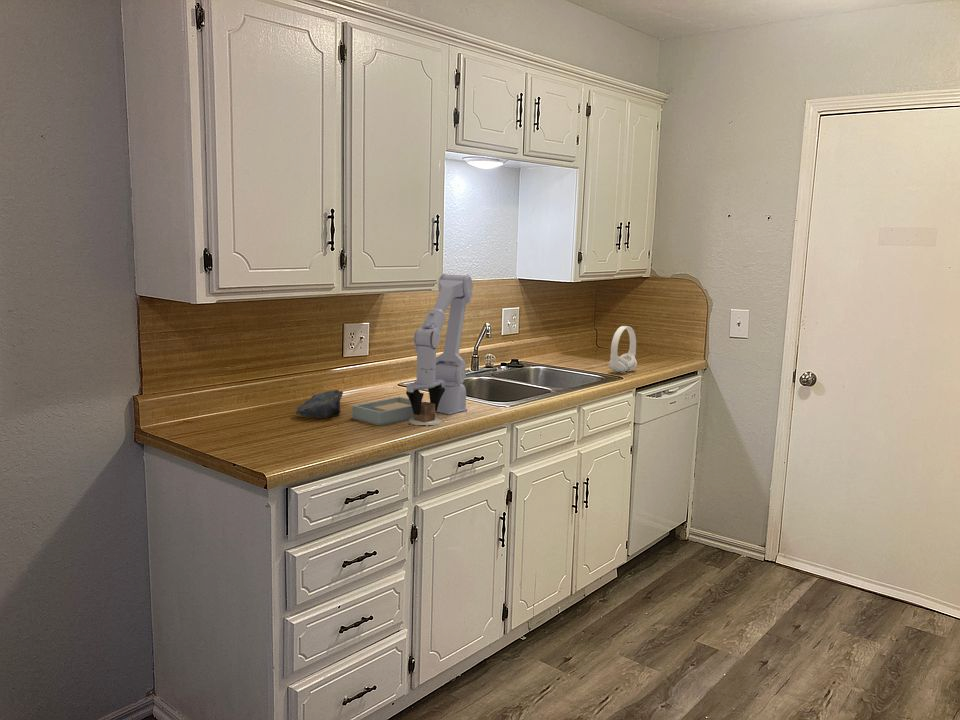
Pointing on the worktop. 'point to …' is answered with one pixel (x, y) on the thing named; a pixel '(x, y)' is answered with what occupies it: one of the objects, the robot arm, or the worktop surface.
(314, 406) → the rock
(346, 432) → the worktop surface
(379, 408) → the caddy
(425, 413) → the block
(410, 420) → the coaster
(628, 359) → the headphones
